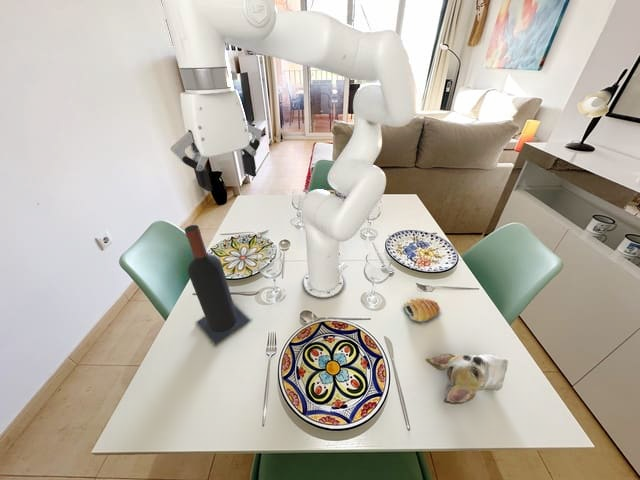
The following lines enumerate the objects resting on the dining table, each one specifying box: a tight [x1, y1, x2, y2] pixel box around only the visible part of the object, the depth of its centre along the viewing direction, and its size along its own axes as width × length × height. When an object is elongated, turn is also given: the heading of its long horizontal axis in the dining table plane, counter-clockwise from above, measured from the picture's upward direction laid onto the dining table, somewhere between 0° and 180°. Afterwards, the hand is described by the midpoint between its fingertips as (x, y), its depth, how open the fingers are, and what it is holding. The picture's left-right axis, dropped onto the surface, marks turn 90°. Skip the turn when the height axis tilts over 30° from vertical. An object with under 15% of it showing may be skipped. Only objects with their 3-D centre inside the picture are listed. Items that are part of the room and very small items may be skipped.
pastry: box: [403, 297, 440, 323], centre depth 75 cm, size 9×7×4 cm
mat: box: [197, 305, 250, 345], centre depth 74 cm, size 10×10×1 cm
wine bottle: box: [184, 224, 237, 332], centre depth 66 cm, size 8×8×30 cm
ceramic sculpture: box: [424, 353, 509, 405], centre depth 57 cm, size 11×9×15 cm
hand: (230, 181), depth 53 cm, fingers open, 9 cm apart
